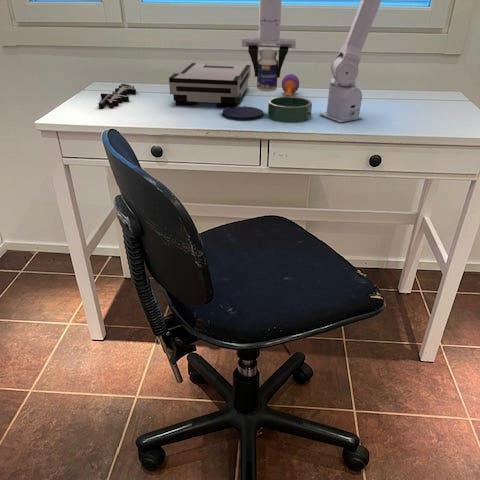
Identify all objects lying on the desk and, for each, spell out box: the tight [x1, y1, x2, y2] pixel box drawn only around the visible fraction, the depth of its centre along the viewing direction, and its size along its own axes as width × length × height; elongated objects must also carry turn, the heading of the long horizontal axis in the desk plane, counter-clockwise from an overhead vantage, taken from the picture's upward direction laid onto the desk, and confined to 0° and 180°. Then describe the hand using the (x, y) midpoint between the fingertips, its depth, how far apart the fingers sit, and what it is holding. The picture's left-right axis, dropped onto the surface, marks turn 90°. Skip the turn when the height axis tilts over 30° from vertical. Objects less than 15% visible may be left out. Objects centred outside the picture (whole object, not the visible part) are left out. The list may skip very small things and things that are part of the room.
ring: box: [267, 96, 313, 123], centre depth 141 cm, size 12×12×4 cm
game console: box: [168, 62, 252, 109], centre depth 159 cm, size 21×32×8 cm, turn 172°
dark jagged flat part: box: [97, 83, 137, 110], centre depth 158 cm, size 27×2×10 cm
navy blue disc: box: [221, 106, 265, 122], centre depth 143 cm, size 12×12×1 cm
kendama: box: [281, 73, 300, 97], centre depth 158 cm, size 6×6×20 cm
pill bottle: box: [256, 48, 278, 93], centre depth 136 cm, size 6×6×10 cm
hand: (267, 76), depth 137 cm, fingers closed on pill bottle, 5 cm apart
